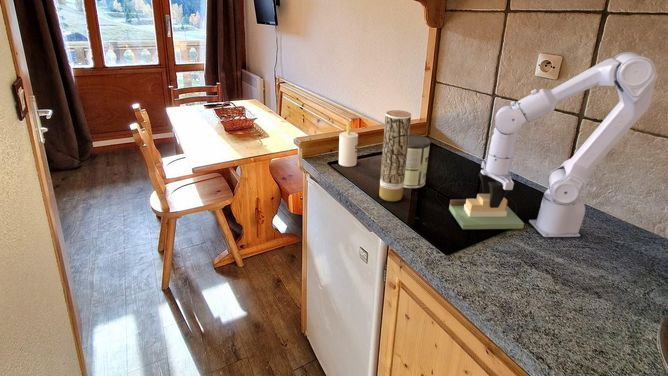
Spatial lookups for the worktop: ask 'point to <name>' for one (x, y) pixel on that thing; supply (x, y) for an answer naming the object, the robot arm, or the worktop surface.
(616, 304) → the worktop surface
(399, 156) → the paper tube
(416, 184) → the coffee can
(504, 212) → the wooden step block
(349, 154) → the candle
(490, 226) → the green board
